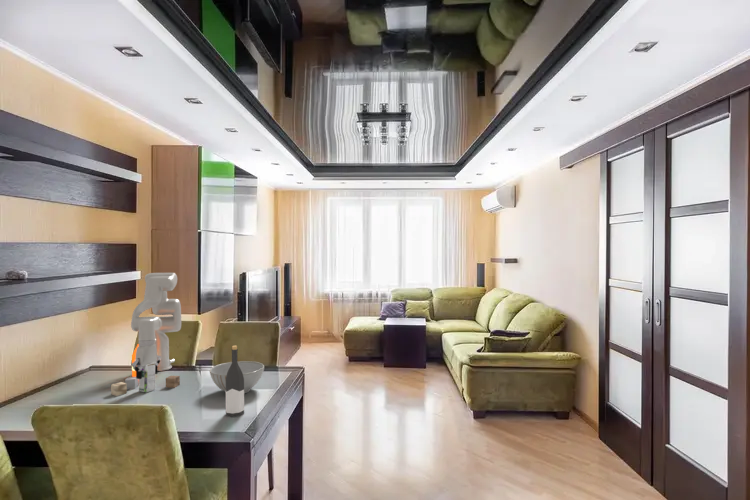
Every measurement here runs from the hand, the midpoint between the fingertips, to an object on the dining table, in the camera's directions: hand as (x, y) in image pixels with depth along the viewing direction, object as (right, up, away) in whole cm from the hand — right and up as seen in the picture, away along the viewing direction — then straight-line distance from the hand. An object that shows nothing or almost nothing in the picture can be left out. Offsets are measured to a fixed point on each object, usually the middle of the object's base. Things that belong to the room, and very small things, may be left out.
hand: (147, 376), depth 231 cm
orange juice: (-11, -8, +19) cm, 23 cm away
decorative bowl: (+47, -7, -2) cm, 48 cm away
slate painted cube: (-11, -8, +6) cm, 14 cm away
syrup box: (0, -8, 0) cm, 8 cm away
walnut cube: (+10, -8, +7) cm, 14 cm away
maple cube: (-12, -8, -5) cm, 15 cm away
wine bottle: (+56, -8, -33) cm, 65 cm away
